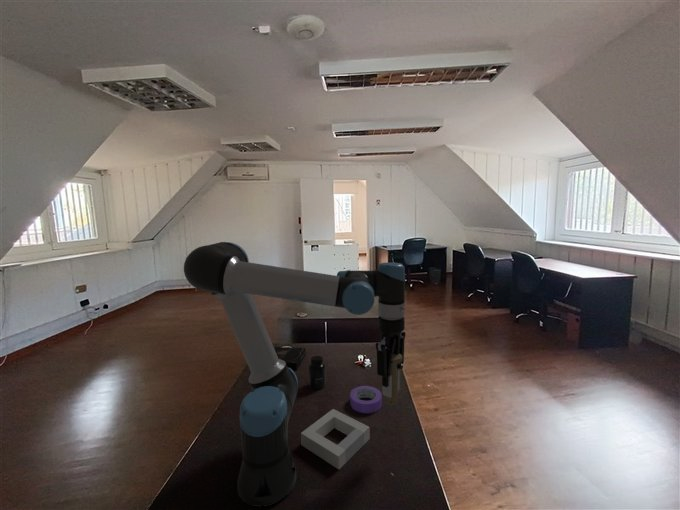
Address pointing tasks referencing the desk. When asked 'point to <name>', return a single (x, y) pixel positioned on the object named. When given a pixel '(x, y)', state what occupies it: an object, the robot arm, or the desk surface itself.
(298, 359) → the portable cd player
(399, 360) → the handle
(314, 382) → the supplement bottle
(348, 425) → the socket
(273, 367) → the robot arm
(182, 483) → the desk surface
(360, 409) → the masking tape
